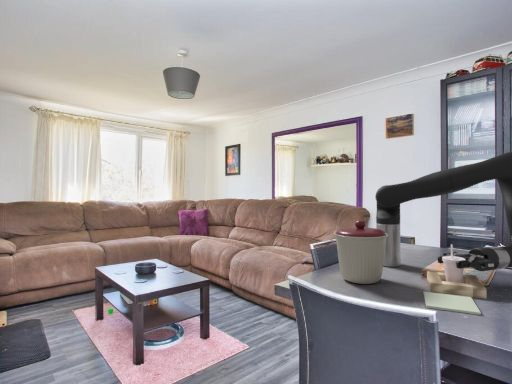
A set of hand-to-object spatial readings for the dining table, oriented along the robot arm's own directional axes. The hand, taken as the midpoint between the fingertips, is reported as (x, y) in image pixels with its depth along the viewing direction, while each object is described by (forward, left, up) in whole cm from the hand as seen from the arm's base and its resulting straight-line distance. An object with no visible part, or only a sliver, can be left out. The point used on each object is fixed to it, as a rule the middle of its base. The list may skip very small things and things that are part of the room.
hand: (447, 262), depth 96 cm
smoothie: (+2, +2, -9) cm, 9 cm away
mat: (-1, -13, -9) cm, 16 cm away
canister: (-26, 0, -9) cm, 28 cm away
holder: (+2, +2, -9) cm, 9 cm away
